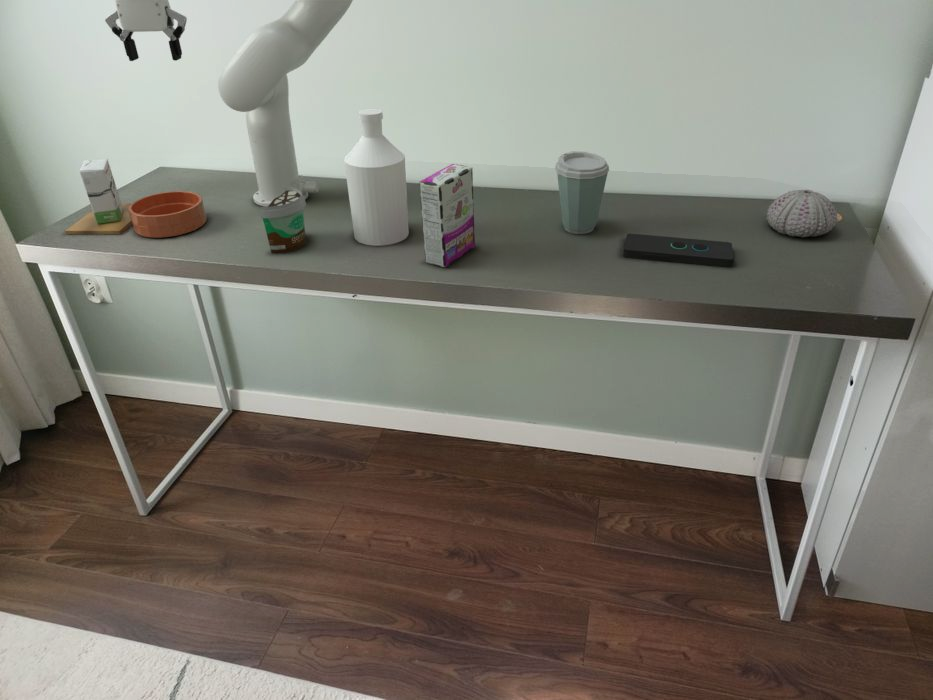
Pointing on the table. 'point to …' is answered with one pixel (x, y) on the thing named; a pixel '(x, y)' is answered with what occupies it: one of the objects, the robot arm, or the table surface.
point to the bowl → (167, 214)
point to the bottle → (376, 185)
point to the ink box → (101, 190)
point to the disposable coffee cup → (581, 189)
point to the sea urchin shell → (802, 214)
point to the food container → (285, 221)
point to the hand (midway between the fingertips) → (155, 59)
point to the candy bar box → (447, 214)
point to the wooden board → (91, 227)
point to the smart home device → (678, 250)
